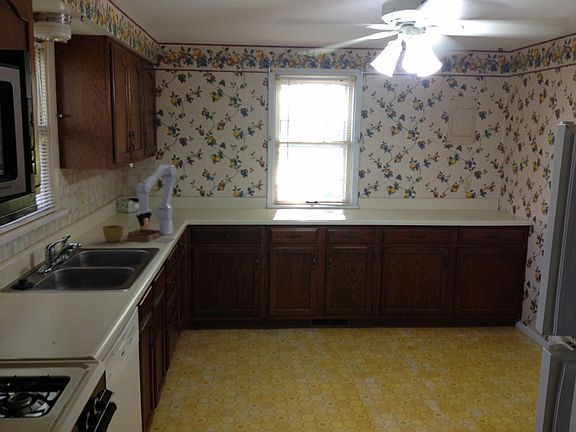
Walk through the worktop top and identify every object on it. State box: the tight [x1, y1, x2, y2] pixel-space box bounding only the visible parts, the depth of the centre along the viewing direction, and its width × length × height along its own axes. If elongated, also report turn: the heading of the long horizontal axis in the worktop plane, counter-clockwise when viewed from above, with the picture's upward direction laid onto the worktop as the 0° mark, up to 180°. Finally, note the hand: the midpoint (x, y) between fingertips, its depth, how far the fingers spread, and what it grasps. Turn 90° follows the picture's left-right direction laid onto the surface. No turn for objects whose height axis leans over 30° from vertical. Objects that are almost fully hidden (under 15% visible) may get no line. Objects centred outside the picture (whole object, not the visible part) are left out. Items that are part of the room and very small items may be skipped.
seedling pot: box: [139, 218, 150, 229], centre depth 344 cm, size 5×5×6 cm
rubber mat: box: [153, 237, 176, 244], centre depth 342 cm, size 12×8×1 cm, turn 162°
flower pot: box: [102, 224, 124, 243], centre depth 337 cm, size 9×9×9 cm
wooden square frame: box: [126, 228, 162, 243], centre depth 346 cm, size 14×14×4 cm
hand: (144, 225), depth 344 cm, fingers closed on seedling pot, 5 cm apart
